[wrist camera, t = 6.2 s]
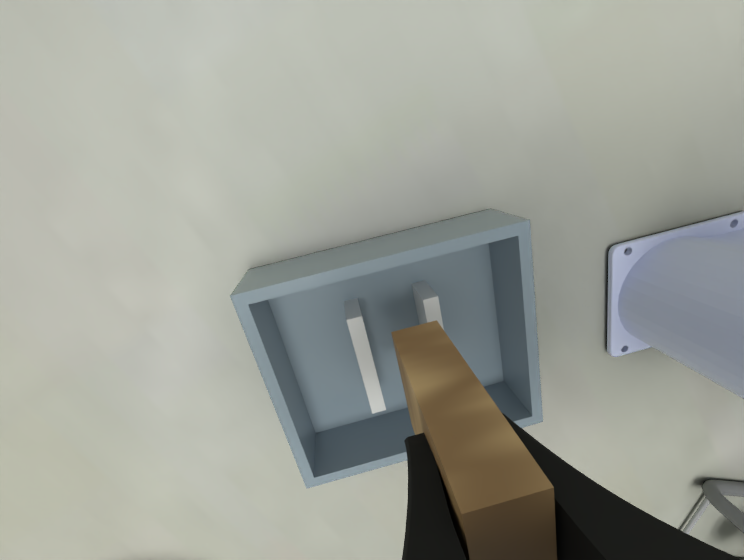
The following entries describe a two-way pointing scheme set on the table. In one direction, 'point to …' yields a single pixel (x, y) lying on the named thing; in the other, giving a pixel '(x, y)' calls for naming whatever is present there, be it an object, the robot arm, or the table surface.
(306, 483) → the slotted square caddy
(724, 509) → the newton's cradle
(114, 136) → the table surface
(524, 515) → the wooden rectangular block
